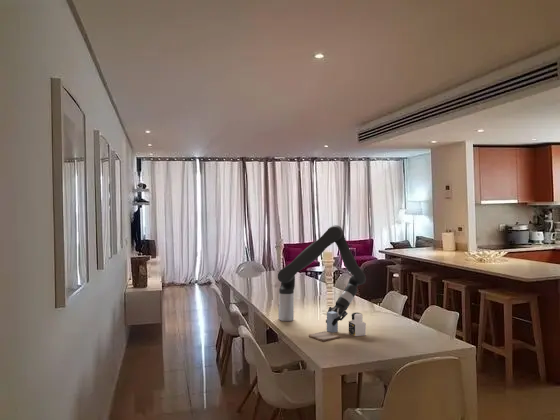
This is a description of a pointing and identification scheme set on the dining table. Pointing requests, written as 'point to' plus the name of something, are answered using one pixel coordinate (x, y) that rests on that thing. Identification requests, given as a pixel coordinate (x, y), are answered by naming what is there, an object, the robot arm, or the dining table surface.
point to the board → (324, 336)
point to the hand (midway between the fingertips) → (329, 323)
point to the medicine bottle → (357, 325)
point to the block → (330, 319)
